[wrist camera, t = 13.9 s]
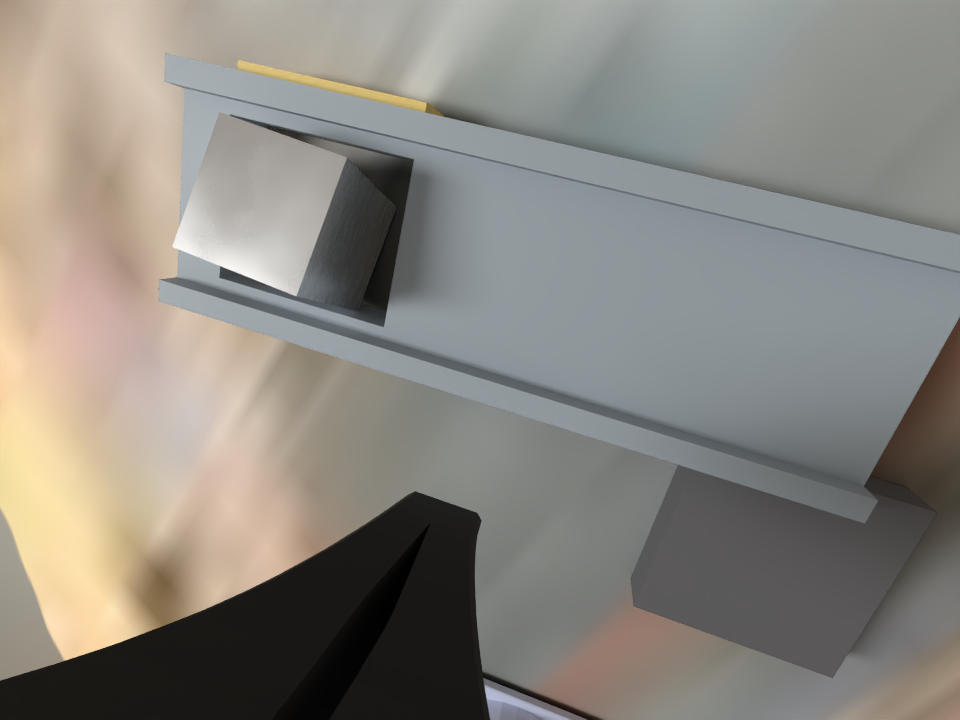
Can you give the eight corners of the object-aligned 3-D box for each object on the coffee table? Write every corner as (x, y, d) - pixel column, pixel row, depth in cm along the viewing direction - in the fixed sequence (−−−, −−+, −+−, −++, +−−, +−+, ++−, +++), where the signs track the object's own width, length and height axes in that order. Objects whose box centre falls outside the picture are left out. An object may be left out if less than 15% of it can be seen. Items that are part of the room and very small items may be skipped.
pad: (814, 643, 18) (832, 678, 17) (630, 578, 19) (633, 606, 18) (907, 487, 16) (937, 512, 15) (695, 423, 17) (704, 441, 16)
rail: (817, 486, 17) (858, 534, 14) (214, 300, 20) (158, 311, 18) (952, 231, 14) (1034, 232, 11) (229, 66, 18) (165, 38, 15)
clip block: (358, 311, 18) (296, 296, 13) (262, 273, 18) (172, 246, 14) (396, 207, 18) (346, 157, 13) (299, 172, 18) (219, 111, 14)
